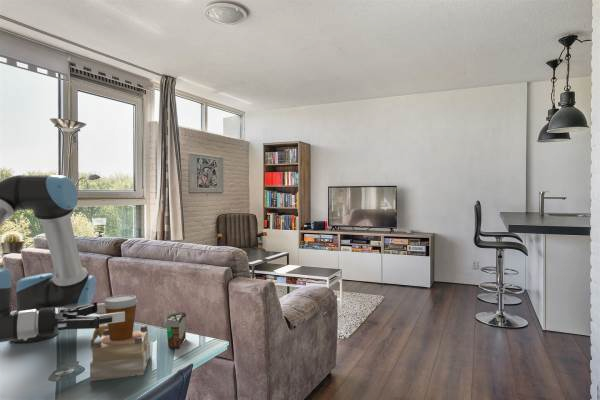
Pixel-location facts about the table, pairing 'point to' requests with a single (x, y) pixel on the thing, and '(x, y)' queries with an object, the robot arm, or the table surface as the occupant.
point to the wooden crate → (120, 356)
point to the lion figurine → (98, 333)
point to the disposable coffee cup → (129, 306)
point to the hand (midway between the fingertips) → (122, 310)
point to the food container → (176, 329)
